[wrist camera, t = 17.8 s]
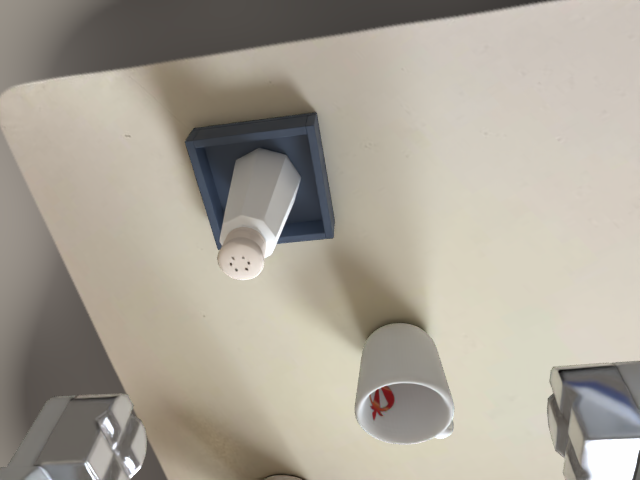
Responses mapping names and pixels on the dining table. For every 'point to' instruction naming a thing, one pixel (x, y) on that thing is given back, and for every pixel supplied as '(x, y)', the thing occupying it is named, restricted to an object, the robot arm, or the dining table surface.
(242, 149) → the tray
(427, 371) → the cup
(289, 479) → the coffee cup
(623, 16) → the dining table surface
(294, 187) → the pepper shaker
